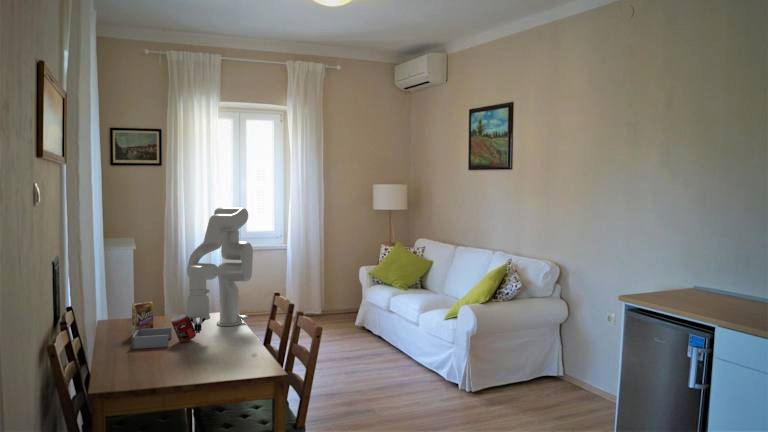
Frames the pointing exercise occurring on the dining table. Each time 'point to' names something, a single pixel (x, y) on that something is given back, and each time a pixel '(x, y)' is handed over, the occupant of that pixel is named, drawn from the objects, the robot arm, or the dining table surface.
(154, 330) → the box
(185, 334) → the canned food
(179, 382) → the dining table surface
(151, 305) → the candy box
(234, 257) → the robot arm
